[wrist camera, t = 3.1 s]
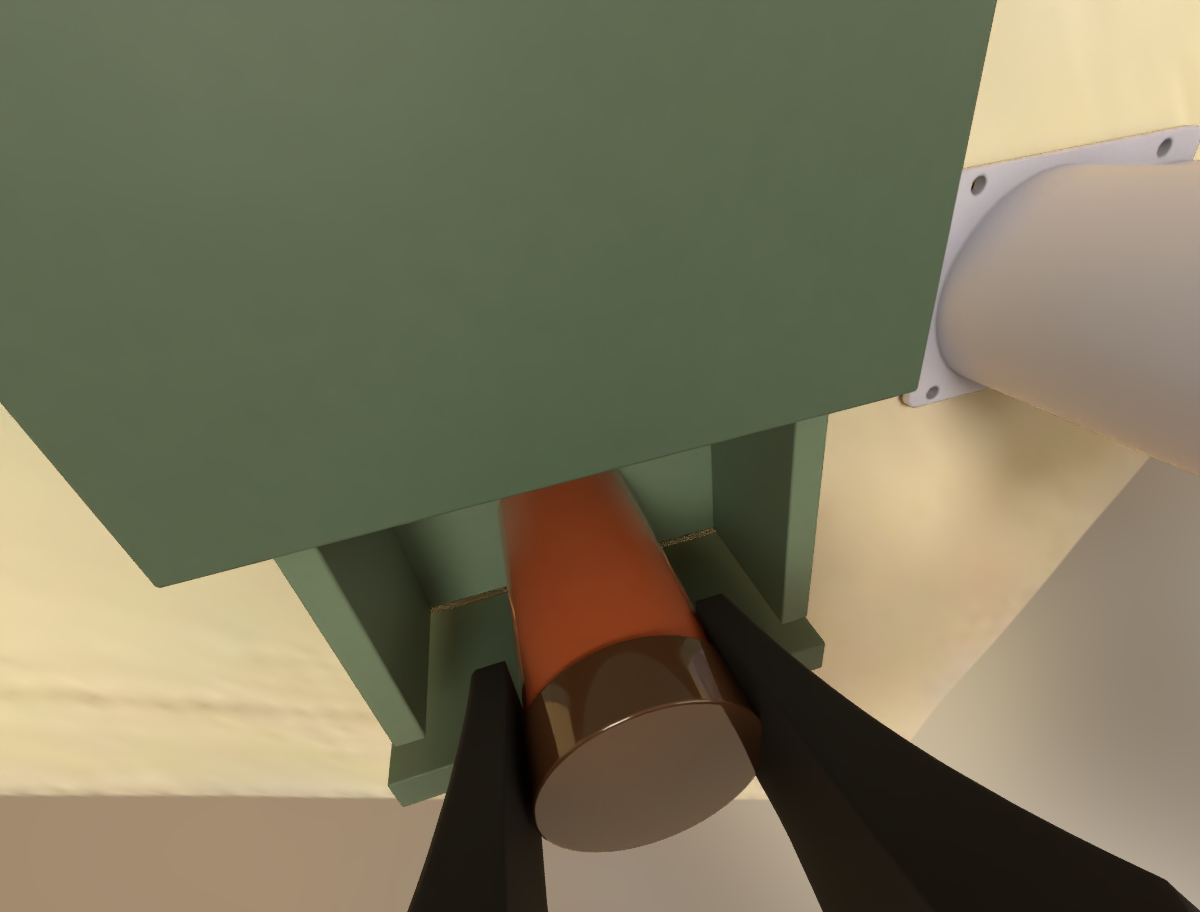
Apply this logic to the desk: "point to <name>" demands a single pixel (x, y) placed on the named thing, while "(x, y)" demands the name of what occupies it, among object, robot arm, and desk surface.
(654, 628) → the spice jar
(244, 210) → the cabinet
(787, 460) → the drawer
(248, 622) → the desk surface
